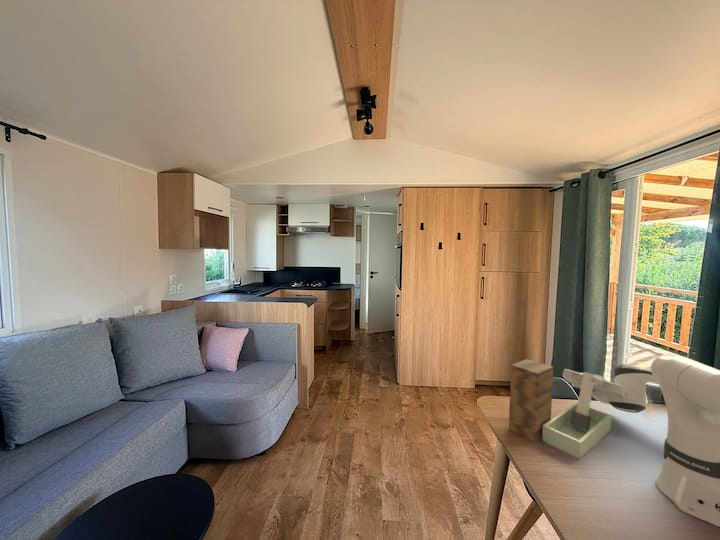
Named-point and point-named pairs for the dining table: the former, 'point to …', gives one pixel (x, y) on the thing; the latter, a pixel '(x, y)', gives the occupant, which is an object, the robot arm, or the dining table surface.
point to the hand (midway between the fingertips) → (587, 377)
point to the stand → (530, 398)
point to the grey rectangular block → (583, 403)
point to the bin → (575, 432)
